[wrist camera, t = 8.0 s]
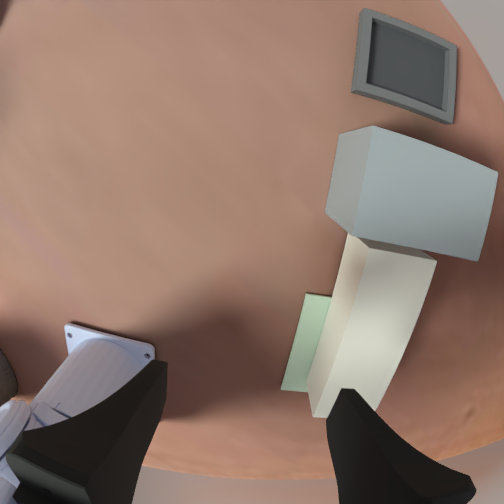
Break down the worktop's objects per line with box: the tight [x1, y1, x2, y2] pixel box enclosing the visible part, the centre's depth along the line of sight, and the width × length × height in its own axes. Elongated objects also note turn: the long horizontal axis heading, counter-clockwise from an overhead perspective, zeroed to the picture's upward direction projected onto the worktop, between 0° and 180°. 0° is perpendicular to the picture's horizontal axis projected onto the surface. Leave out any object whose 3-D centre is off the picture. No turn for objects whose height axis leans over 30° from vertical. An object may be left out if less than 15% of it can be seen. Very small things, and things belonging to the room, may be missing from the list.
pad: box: [280, 293, 332, 392], centre depth 22 cm, size 8×8×1 cm
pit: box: [351, 8, 457, 124], centre depth 16 cm, size 6×7×1 cm
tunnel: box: [325, 126, 498, 262], centre depth 16 cm, size 5×8×6 cm, turn 81°
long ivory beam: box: [306, 233, 437, 418], centre depth 19 cm, size 12×4×4 cm, turn 171°
